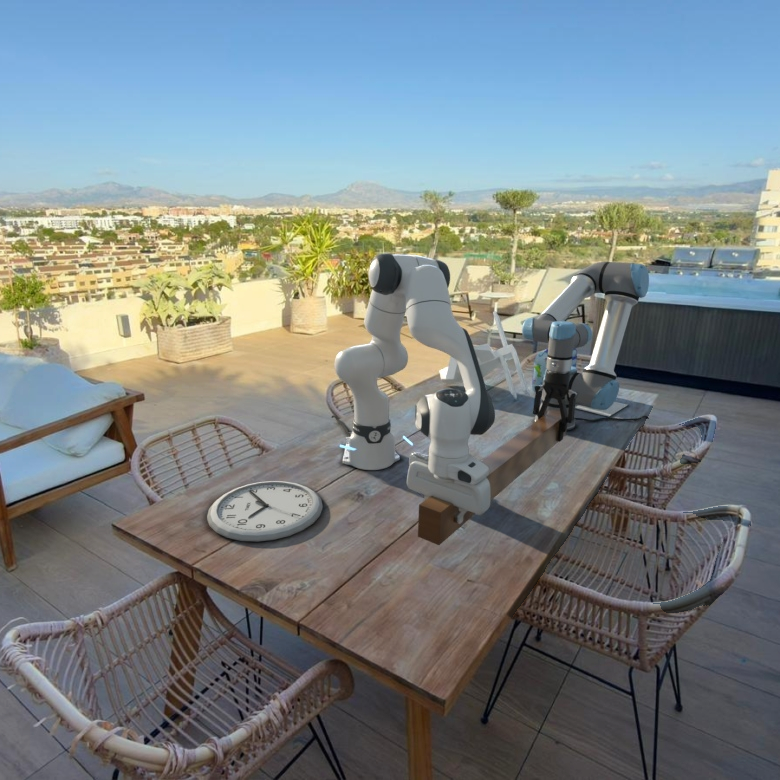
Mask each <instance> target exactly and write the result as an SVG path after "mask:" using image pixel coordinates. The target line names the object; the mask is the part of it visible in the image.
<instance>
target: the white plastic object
mask: <svg viewBox="0 0 780 780" xmlns="http://www.w3.org/2000/svg"><path fill="white" fill-rule="evenodd" d="M492 315H493V319H494V321H495V324H496V325H495V326H496V328H497V332H498V335H499V338H500V342H501V345H502V347H500V348H498V349H496V350H495V349H493V348H492V347H491V346H490V344H489V343H488V342H487V343H483V344H479V345H473V347H474V350H475V353H476V356H477V359H478V363H479V366H480V370H481V373H482V376H483V378H485V377H486V376H487V375H489V374H490V373H492V372H494V371H495V370H496V369H497V368H499V367H500V366H502V370H503V373H504V376H505V380H506V383H507V386H508V390H509V393H510V394H511V395H512V397H513V398H514V399H515V400H517V392H516V391H517V390H516V388H515V385H514V381H513V378H512V375H511V371H510V369H509V365H508V361H510V360H513V363H514V366H515V369H516V372H517V376H518V380H519V382H520V385H521V389H522V391H523V393H524V395H525V396H526V397H528V396H531V395H530V390H529V388H528V387H529V386H528V384H527V381H526V378H525V375H524V371H523V369H522V368H523V367H522V366H521V362H520V359H519V355H518V352H517V349H516V347H515V346H514V345H513V343H511V344H508V341H507V337H506V334H505V331H504V328H503V325H502V321H501V318H500V315H499V314H498V312H497V311H496V310H495V311H492ZM438 372H439V376H440V381H442V383H443V384H444V385H445V386H449V385H458V384H464V383H463V380H462V376H461V373H460V369H459V366H458V364H457V362H456V360H455V359H454V358H453V357H451V356H450V357H449V362H448V366H446V367H444V368H442V369H440V370H439V371H438Z"/></svg>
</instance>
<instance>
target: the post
mask: <svg viewBox="0 0 780 780" xmlns="http://www.w3.org/2000/svg"><path fill="white" fill-rule="evenodd" d="M567 414H568V413H567ZM561 421H562V418H561V413H560V411H556V410H551V411H550V412H548V413H547V414H545V415H544V416H543V417H541V418H540V419H538V420H537V421H536V422H533V423H531V424H530V425H528V426H527V427H525V428H524V429H522V431H520V432H519V433H517V434H516V435H515V436H513V437H512V438H510V439H508V441H506V442H504V443H503V444H502V445H501V446H499V447H498V448H496V449H495V450H493V451H492V452H490V454H487V456H485V457H484V458H482V459H481V460H479V461H480V462H482V463H483V464H485V465H486V466H488V468H489V474H488V475H487V476H486V478H487V479H488V481H489V483H490V491H491V499H490V502H491V501H492V500H493V499H495V498H496V497H497V496H498V495H499V494H500V493H501V492H503V491H504V490H505V489H506V488H507V487H508V486H509V485H511V484H512V483H513V482H514V481H516V479H517V478H519V477H520V476H521V475H522V474H523V473H524V472H526V470H528V469H529V468H530V467H531V466H532V465H534V464H535V463H536V462H537V461H538V460H539V459H540V458H542V457H543V456H544V455H546V453H548V451H550V450H551V449H552V448H553V447H554V446H555V445H557V444H558V443H559V442H558V432H559V423H560V422H561ZM566 435H567V431H566V432H564V433H563V438H565V437H566ZM457 513H461V512H460V511H459V507H456V506H454V505H453V503H451V502H448V501H445V500H442V499H439V498H437V497H434V496H430V497H429V498H428V499H426V500H425V499H424V500H423V501H422V502H420V503H419V504H418V522H417V523H418V524H417V526H418V527H417V537H418V538H420V539H422V540H424V541H427V542H430V543H433V544H435V545H437V546H440V545H441V544H443V543H444V542H445V541H446V540H447V539H448V538H449V537H451V536H452V535H453V534H454V533H455V532H456V531H458V529H460V528H461V527H462V526H463V525H464V524H466V523H467V522H468V521H470V520H471V518H472V517H474V516H475V515H476V514H475V513H472V512H470V511H467V512H466V513H465V514H464V515H463V522H462V523H461V524H458V523H456V522H454V515H456V514H457Z"/></svg>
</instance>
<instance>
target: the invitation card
mask: <svg viewBox="0 0 780 780" xmlns="http://www.w3.org/2000/svg"><path fill="white" fill-rule="evenodd" d="M628 406H629V404H627V403H623V402H618V401H614V403H613V404H612V405H611V406H610V407H609V408H608V409H606V410H599V409H592V408H589V407H585V406H582V405H578V404H577V405H575V410H581V411H584V412H587V413H593V414H596V415H600V416H604V417H607V418H610V417H612V416H613V415H614V414H616V413H617V412H619V411H621V410H623V409H624V408H626V407H628Z"/></svg>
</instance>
